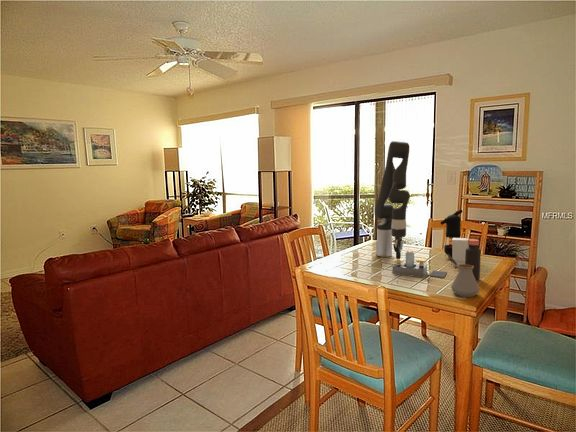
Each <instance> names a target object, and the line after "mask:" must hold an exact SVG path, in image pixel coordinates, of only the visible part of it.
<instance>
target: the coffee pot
mask: <svg viewBox="0 0 576 432" xmlns="http://www.w3.org/2000/svg"><path fill="white" fill-rule="evenodd" d="M444 257H445V258H448V259H450V261H451V262H453V263H454V264H455V265H456V266H457V269H458V272H457V274H456V276H455V278H454V280H453V282H452V284H451V285H450V288H451V290H452V291H453V293H455V294H456V295H457V296H459V297H464V298H472V297H475V295H477V294H479V292H480V286H479V284H478V282H477V281H476V279H475V277H474V275H473V272H472V270H473V268H474V266H472V265H467V264H461V265H457V263H456V262H455V260H454V259H453V258H452V257H451V256H450V255H449V254H446V253H445V256H444Z"/></svg>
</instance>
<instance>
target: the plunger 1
mask: <svg viewBox="0 0 576 432" xmlns="http://www.w3.org/2000/svg"><path fill="white" fill-rule="evenodd" d="M402 262H403V263H404V258H400V259H396V258H395V259H393V263H397V265H400V263H402Z"/></svg>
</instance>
